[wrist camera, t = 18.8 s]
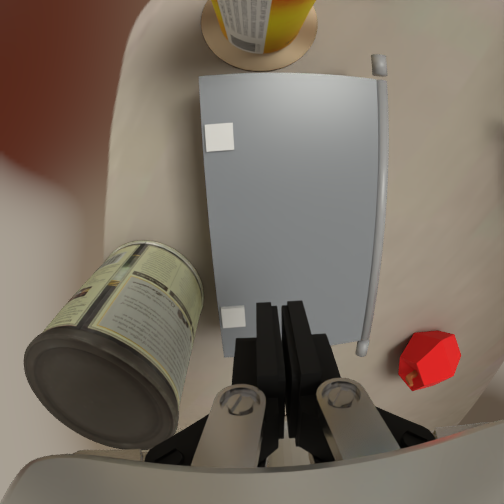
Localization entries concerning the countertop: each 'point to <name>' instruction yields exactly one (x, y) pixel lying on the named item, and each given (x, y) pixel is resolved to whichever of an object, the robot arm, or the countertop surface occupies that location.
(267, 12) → the beer can
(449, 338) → the apple
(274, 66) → the coaster
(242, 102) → the cover
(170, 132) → the countertop surface
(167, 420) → the coffee can
